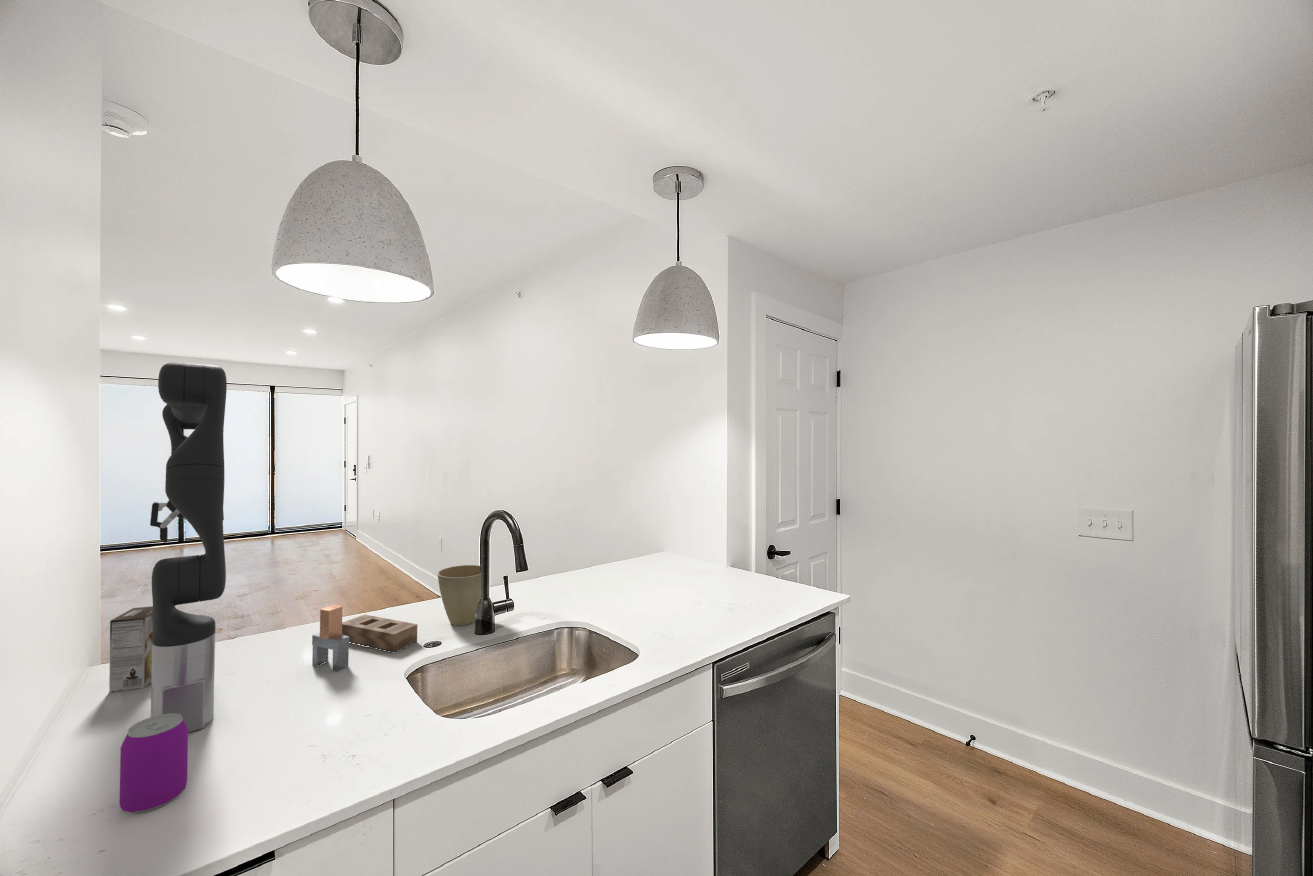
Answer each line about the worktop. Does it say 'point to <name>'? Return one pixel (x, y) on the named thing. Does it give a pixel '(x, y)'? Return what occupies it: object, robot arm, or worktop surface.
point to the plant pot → (460, 592)
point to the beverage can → (153, 763)
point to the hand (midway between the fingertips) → (187, 540)
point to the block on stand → (331, 639)
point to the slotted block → (380, 632)
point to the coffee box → (131, 649)
